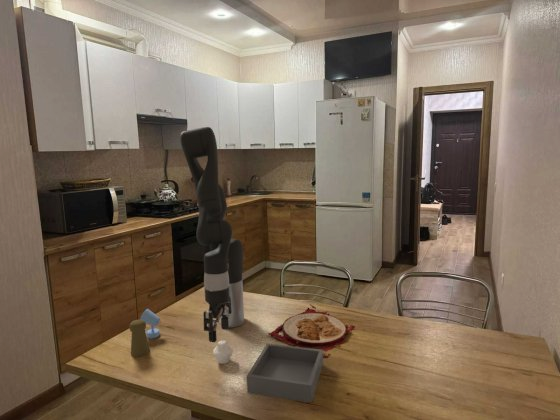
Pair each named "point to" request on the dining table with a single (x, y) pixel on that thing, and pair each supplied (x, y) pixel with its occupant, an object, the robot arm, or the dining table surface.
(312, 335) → the plate with food
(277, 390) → the serving bin
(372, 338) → the dining table surface
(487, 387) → the dining table surface
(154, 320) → the spotlight
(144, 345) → the olive pepper mill
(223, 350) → the white ribbed rounded piece
